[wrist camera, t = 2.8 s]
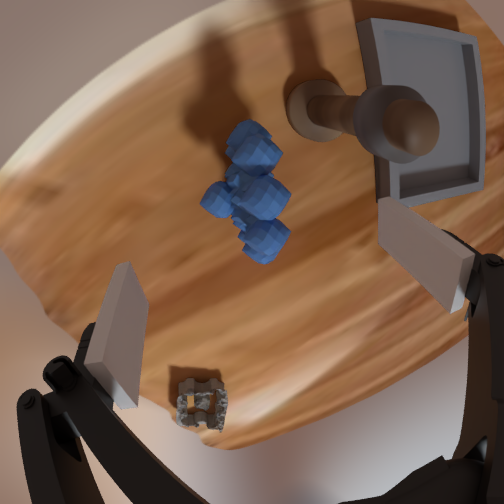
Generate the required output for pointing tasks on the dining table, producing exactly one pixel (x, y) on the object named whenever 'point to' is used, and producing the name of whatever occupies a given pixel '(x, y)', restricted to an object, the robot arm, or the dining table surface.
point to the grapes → (252, 192)
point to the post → (366, 118)
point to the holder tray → (439, 98)
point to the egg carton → (202, 403)
